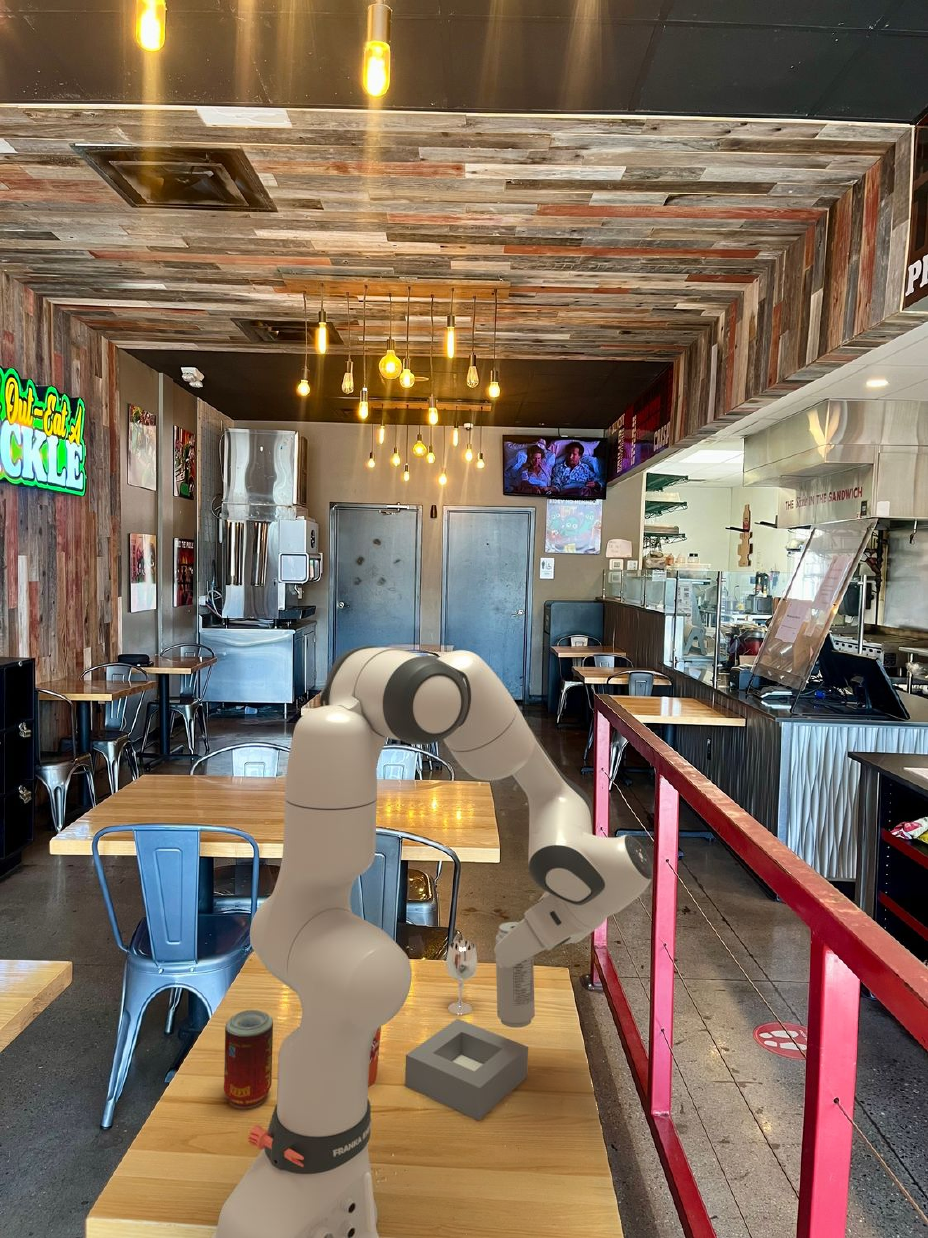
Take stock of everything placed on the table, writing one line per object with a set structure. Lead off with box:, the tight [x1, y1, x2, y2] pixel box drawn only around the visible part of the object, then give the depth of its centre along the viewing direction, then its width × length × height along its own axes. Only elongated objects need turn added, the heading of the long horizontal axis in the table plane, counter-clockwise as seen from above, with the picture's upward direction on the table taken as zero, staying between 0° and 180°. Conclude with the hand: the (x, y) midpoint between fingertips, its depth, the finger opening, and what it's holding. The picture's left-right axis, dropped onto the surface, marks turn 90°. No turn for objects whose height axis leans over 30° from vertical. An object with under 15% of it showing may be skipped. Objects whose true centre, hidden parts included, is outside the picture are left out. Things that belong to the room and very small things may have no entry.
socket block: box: [404, 1018, 529, 1121], centre depth 134 cm, size 14×14×5 cm
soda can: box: [223, 1009, 274, 1109], centre depth 128 cm, size 7×7×12 cm
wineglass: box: [445, 939, 478, 1016], centre depth 157 cm, size 6×6×12 cm
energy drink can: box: [495, 921, 536, 1029], centre depth 136 cm, size 6×6×15 cm
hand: (511, 955), depth 136 cm, fingers closed on energy drink can, 6 cm apart
